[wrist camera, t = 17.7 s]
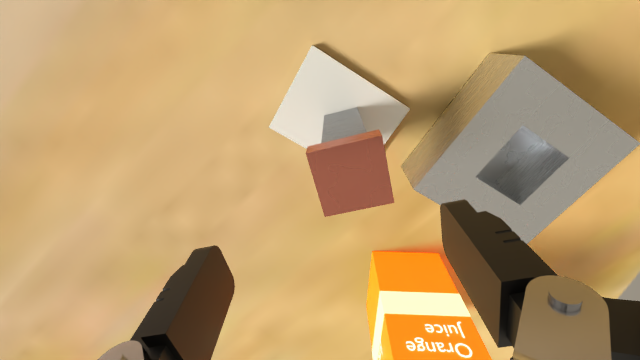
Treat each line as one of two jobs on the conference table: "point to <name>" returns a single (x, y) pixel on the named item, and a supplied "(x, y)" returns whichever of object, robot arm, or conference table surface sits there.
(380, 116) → the pad
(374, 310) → the orange juice
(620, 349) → the robot arm
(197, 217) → the conference table surface
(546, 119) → the block
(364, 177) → the key
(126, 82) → the conference table surface
